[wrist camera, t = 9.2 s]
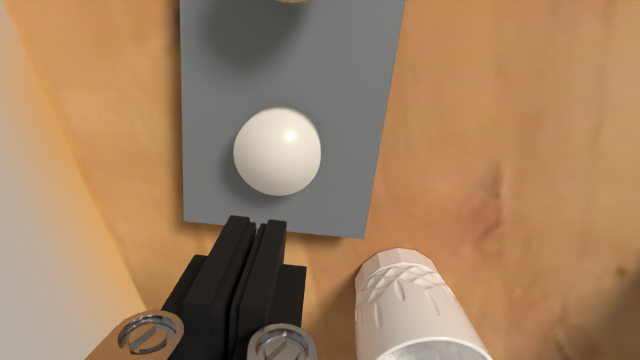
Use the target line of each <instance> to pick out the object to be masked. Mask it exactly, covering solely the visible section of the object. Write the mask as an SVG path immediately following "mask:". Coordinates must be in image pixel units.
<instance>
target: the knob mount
mask: <svg viewBox="0 0 640 360" xmlns="http://www.w3.org/2000/svg"><path fill="white" fill-rule="evenodd" d="M404 6H405V0H312V1H310V2H307V3H303V4H295V5H293V4H284V3H280V2H277V1H274V0H180V48H181V101H182V154H183V208H184V221H185V222H195V223H206V224H216V225H225V224H226V222H227V220H228V219H229V217H230V215H235V216H244V217H250V222H256V229H259V227H260V224H261V223H265V224H267V223H268V220H269V219H271V220H280V221H287V229H286V232H297V233H307V234H317V235H327V236H337V237H347V238H357V239H364V234H365V229H366V223H367V217H368V211H369V206H370V200H371V194H372V189H373V183H374V177H375V171H376V166H377V160H378V154H379V149H380V143H381V137H382V131H383V126H384V120H385V114H386V109H387V103H388V97H389V91H390V86H391V80H392V74H393V68H394V63H395V57H396V51H397V46H398V40H399V34H400V28H401V23H402V17H403V11H404ZM271 106H288V107H291V108H295V109H297V110H299V111H301V112H302V113H304V114H305V115H306V116H307V117H308V118H309V119H310V120H311V121H312V122H313V123H314V125H315V127H316V129H317V131H318V133H319V137H320V143H321V159H320V165H319V169H318V171H317V173H316V175H315V177H314V178H313V180H312V181H311V182H310V183H309V184H308V185H307V186H306V187H305V188H303V189H301V190H300V191H298V192H296V193H293V194H289V195H283V196H274V195H268V194H265V193H262V192H260V191H257V190H256V189H254V188H252V187H251V186H250V185H249V184H248V183H246V182H245V181H244V179H243V178H242V177H241V175H240V174H239V172H238V170H237V168H236V165H235V162H234V154H233V150H234V143H235V140H236V137H237V135H238V133H239V131H240V130H241V129H242V127H243V126H244V125H245V124H246V122H247V121H248V120H249V119H250V118H251V117H252V116H253V115H254V114H255V113H257V112H258V111H260V110H262V109H264V108H267V107H271Z"/></svg>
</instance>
